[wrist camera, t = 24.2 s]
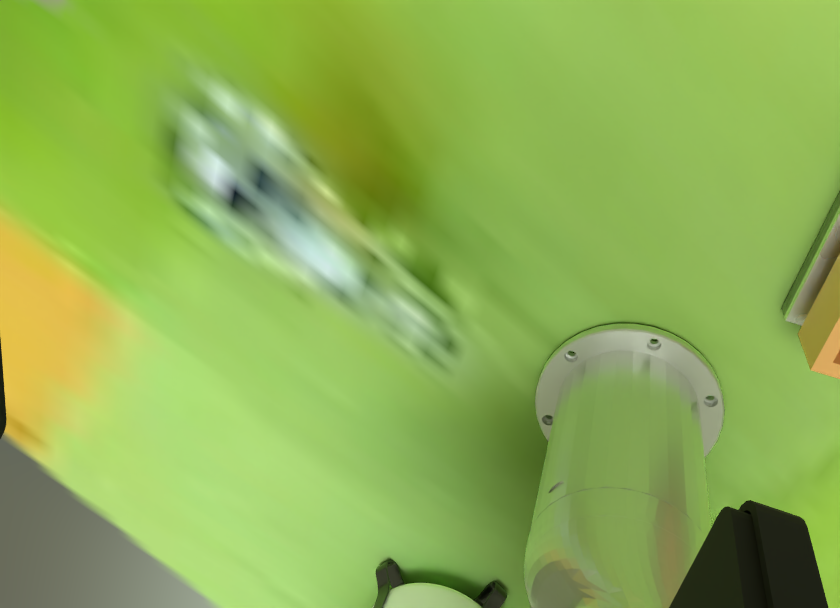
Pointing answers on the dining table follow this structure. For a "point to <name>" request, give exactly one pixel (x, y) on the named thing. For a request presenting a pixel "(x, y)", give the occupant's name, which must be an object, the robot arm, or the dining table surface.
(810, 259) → the grey flat slab
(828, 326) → the orange open tray
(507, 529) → the dining table surface
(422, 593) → the coffee press
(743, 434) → the dining table surface
